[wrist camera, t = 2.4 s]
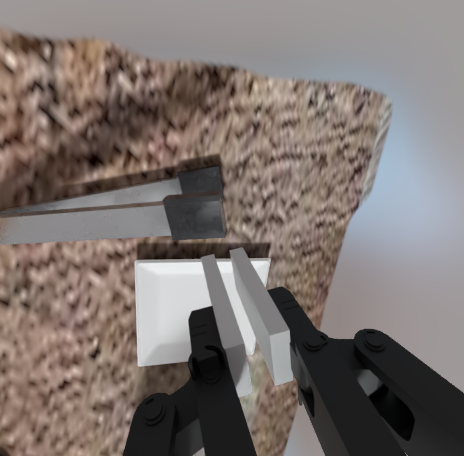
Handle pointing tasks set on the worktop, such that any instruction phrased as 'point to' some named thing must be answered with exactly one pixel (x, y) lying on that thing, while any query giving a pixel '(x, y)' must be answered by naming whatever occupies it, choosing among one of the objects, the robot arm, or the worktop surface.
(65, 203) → the base
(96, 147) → the worktop surface
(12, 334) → the worktop surface
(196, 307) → the plate
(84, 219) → the bar
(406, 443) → the robot arm
